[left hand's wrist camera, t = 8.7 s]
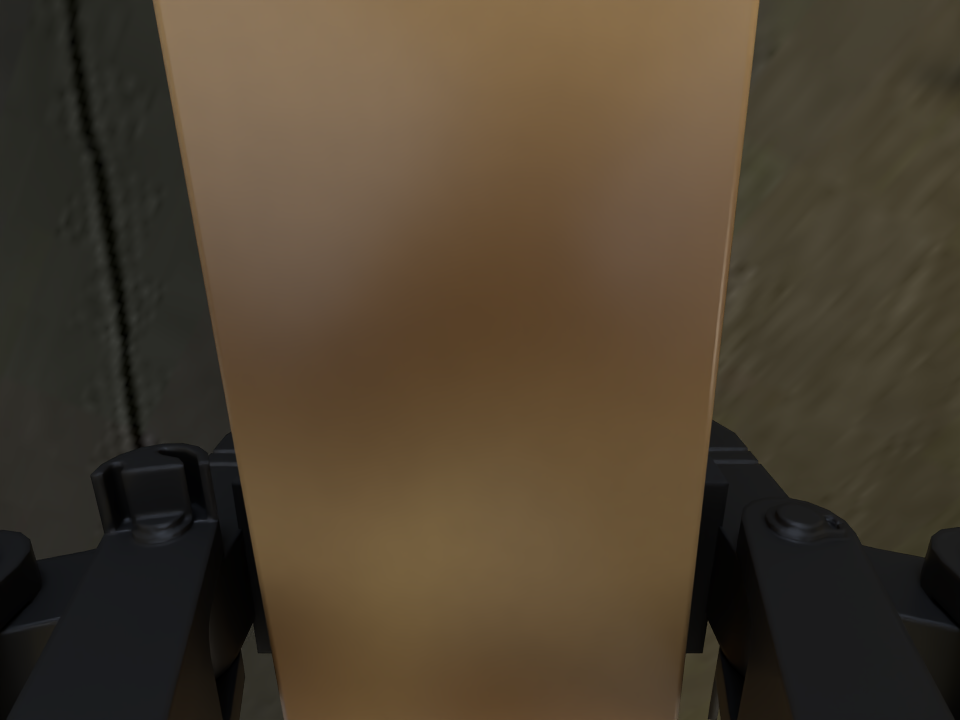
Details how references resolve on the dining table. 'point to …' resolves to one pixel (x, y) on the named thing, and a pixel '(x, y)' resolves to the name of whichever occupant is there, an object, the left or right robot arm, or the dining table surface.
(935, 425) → the dining table surface
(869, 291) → the dining table surface
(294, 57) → the bar
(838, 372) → the dining table surface
